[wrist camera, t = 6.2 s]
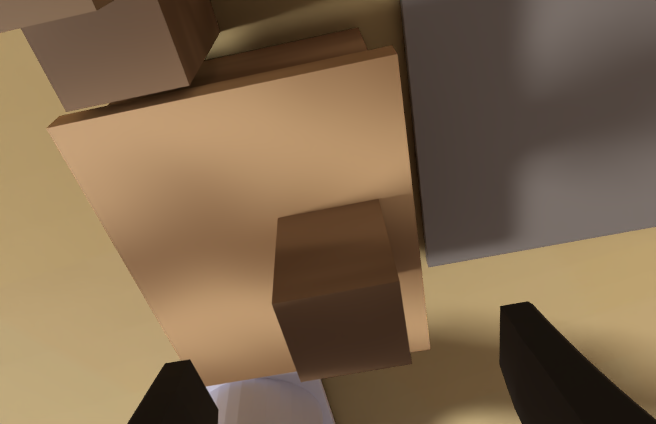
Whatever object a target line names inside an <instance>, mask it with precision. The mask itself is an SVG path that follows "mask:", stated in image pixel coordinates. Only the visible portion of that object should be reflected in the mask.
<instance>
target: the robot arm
mask: <svg viewBox="0 0 656 424" xmlns="http://www.w3.org/2000/svg"><path fill="white" fill-rule="evenodd" d="M499 364H500V367H501V370H502V373H503V376H504V379H505V382H506V385H507V388H508V391H509V394H510V396H511V399H512V402H513V405H514V408H515V410H516V412H517V414H518V416H519V419H520V421H521V423H522V424H656V419H655V418H653V417H652V416H651V415H650V414H649V413H647V412H646V411H645V410H644V409H643V408H641V407H640V406H639V405H638V404H637V403H635V402H634V401H633V400H632V399H631V398H630V397H628V396H627V395H626V394H625V393H624V392H623V391H622V390H620V389H619V388H618V387H617V386H616V385H615V384H614V383H613V382H611V381H610V380H609V379H608V378H607V377H606V376H605V375H604V374H603V373H602V372H600V371H599V370H598V369H597V368H596V367H595V366H594V365H593V364H592V363H591V362H590V361H588V360H587V359H586V358H585V357H584V356H583V355H582V354H581V353H580V352H579V351H578V350H577V349H576V348H575V347H574V346H573V345H572V344H571V343H570V342H569V341H568V340H567V339H566V338H565V337H564V336H563V335H562V334H561V333H560V332H559V331H558V330H557V329H556V328H555V327H554V326H553V325H552V324H551V323H550V322H549V321H548V320H547V319H546V318H545V317H544V316H543V315H542V314H541V313H540V312H539V311H538V310H537V308H536V307H535V306H534V305H533V304H531V303H530V302H522V303H516V304H510V305H504V306H500V360H499ZM127 424H335V421H334V418H333V415H332V411H331V408H330V405H329V402H328V399H327V396H326V393H325V390H324V387H323V384H322V381H321V379H317V380H311V381H305V382H300V379H299V376H298V374H297V371H296V372H290V373H284V374H278V375H272V376H266V377H260V378H254V379H248V380H242V381H236V382H230V383H224V384H218V385H212V386H206V387H205V385H204V383H203V381H202V379H201V378H200V376H199V374H198V372H197V371H196V369H195V367H194V365H193V363H192V362H191V360H190V359H189V360H183V361H177V362H171V363H165V365H164V366H163V367H162V369H161V371H160V372H159V374H158V375H157V377H156V378H155V380H154V382H153V383H152V385H151V386H150V388H149V390H148V391H147V393H146V395H145V396H144V398H143V399H142V401H141V403H140V404H139V406H138V407H137V409H136V411H135V412H134V414H133V415H132V417H131V419H130V420H129V422H128V423H127Z"/></svg>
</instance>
